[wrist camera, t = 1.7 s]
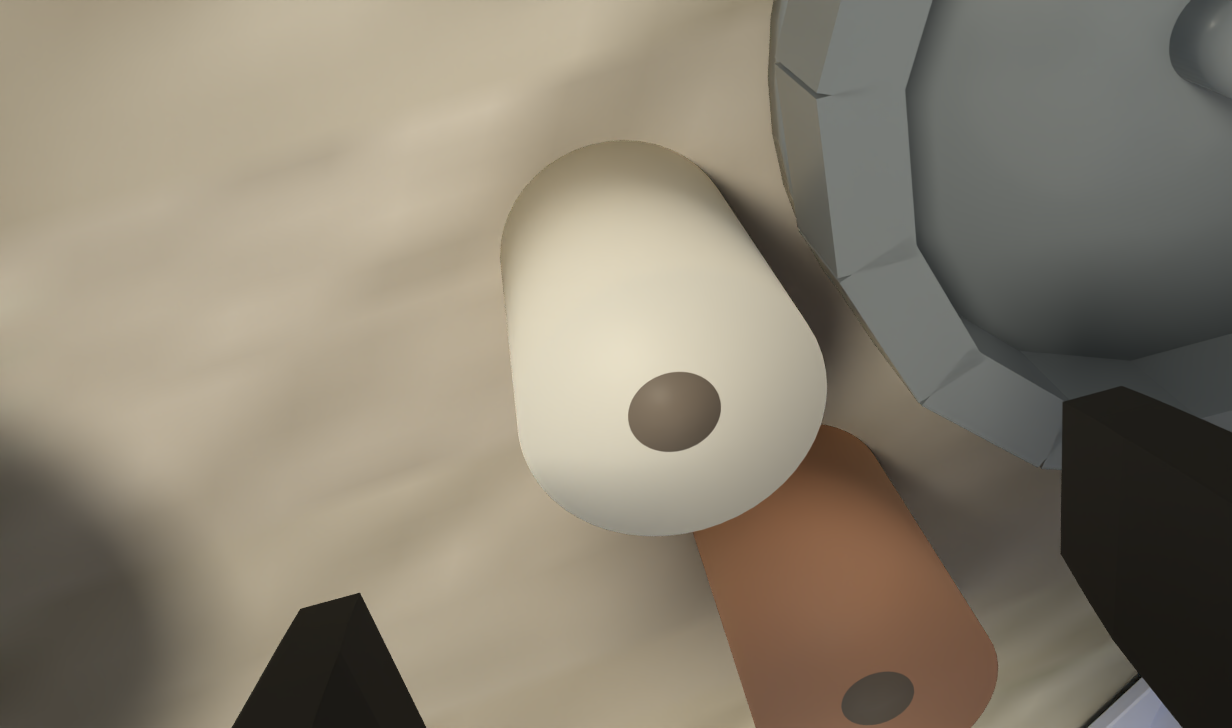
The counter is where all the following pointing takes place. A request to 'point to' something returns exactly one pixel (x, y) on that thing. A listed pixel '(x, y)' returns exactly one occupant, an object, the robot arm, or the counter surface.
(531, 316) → the bead cream
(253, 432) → the counter surface
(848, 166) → the groove tray
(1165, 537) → the robot arm
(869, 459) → the bead terracotta
